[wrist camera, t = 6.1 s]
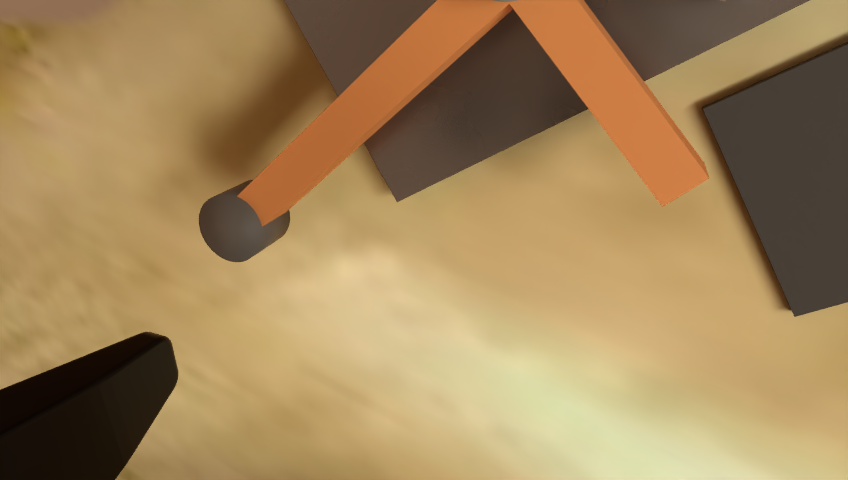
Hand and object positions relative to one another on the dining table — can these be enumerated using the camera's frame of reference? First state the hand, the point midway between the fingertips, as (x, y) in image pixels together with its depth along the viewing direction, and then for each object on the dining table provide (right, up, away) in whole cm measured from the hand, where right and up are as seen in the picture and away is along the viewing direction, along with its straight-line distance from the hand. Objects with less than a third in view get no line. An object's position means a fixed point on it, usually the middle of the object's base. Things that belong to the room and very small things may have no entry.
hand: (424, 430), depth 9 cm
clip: (+1, +5, +11) cm, 12 cm away
